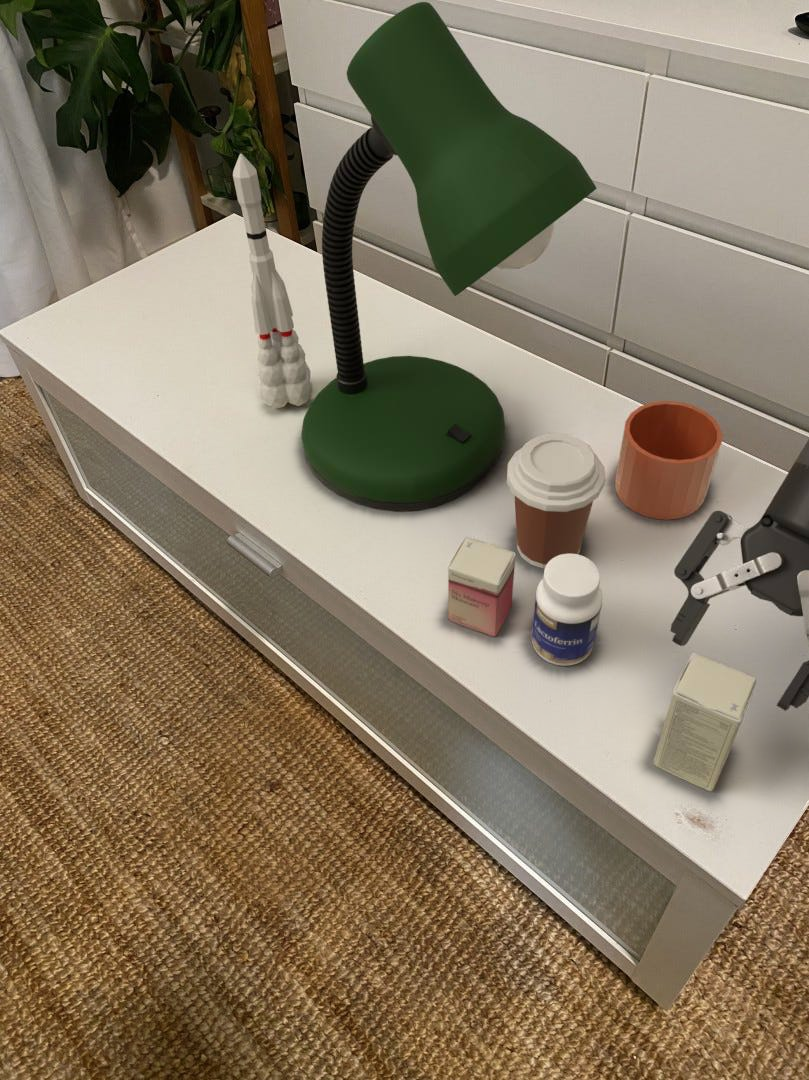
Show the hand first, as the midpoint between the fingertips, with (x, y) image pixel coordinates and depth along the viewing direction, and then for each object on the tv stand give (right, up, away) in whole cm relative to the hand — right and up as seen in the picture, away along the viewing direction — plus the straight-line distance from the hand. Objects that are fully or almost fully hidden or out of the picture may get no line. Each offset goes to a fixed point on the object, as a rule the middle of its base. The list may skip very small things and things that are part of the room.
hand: (729, 674), depth 64 cm
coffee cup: (-10, +9, +23) cm, 27 cm away
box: (-1, -8, +7) cm, 11 cm away
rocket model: (-38, +27, +42) cm, 63 cm away
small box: (-17, +3, +18) cm, 25 cm away
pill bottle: (-10, 0, +15) cm, 18 cm away
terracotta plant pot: (+3, +16, +28) cm, 32 cm away
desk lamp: (-21, +20, +33) cm, 44 cm away
